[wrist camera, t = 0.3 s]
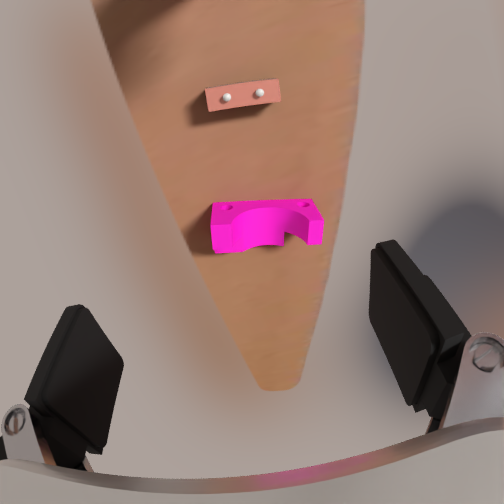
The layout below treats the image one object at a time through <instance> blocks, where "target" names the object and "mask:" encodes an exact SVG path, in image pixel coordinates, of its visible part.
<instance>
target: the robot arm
mask: <svg viewBox="0 0 504 504" xmlns="http://www.w3.org/2000/svg"><path fill="white" fill-rule="evenodd" d="M370 272H371V273H370V299H369V300H370V301H369V318H370V322H371V324H372V326H373V328H374V331H375V333H376V335H377V337H378V339H379V341H380V344H381V346H382V348H383V350H384V353H385V355H386V357H387V359H388V362H389V364H390V366H391V369H392V371H393V373H394V375H395V378H396V380H397V382H398V385H399V387H400V390H401V392H402V394H403V397H404V399H405V402H406V403H407V405H408V406H410V405H413V408H414V410H415V412H418V411H421V410H424V409H426V410H427V412H428V414H429V416H430V417H431V420H430V422H429V425H428V428H427V430H426V433H425V435H422V436H419V437H416V438H413V439H410V440H407V441H404V442H401V443H398V444H395V445H392V446H389V447H386V448H383V449H379V450H376V451H372V452H369V453H365V454H362V455H358V456H354V457H350V458H346V459H343V460H338V461H334V462H330V463H326V464H321V465H316V466H311V467H306V468H300V469H295V470H289V471H283V472H275V473H268V474H260V475H251V476H240V477H227V478H208V479H160V478H141V477H128V476H118V475H109V474H101V473H94V471H93V469H92V467H91V465H90V463H89V462H88V459H87V457H86V456H85V453H86V451H87V452H89V453H91V454H100V455H102V451H103V447H105V445H106V443H107V439H108V433H109V429H110V424H111V419H112V414H113V410H114V405H115V401H116V396H117V392H118V388H119V384H120V379H121V375H122V371H123V367H124V363H123V359H122V357H121V356H120V354H119V353H118V352H117V350H116V349H115V348H114V346H113V345H112V343H111V342H110V341H109V339H108V338H107V336H106V335H105V333H104V332H103V330H102V329H101V328H100V326H99V324H98V323H97V322H96V320H95V319H94V317H93V315H92V314H91V312H90V311H89V309H87V308H85V307H84V306H83V305H80V304H79V305H74V306H69V307H67V308H66V309H65V310H64V312H63V314H62V316H61V318H60V320H59V322H58V324H57V326H56V328H55V330H54V332H53V334H52V336H51V338H50V340H49V342H48V344H47V347H46V349H45V351H44V353H43V355H42V357H41V360H40V362H39V365H38V366H37V369H36V371H35V374H34V376H33V378H32V381H31V383H30V386H29V388H28V390H27V393H26V395H25V398H24V400H25V401H26V402H27V403H28V404H29V405H30V407H29V409H28V408H27V407H26V406H24V405H22V404H17V405H14V406H12V407H11V408H10V409H9V410H8V411H7V413H6V414H5V416H4V418H3V421H2V427H1V428H2V436H1V437H0V504H504V340H503V339H502V338H500V337H499V336H498V335H495V334H492V333H487V332H483V333H477V334H475V335H473V336H471V335H470V333H469V331H468V330H467V328H466V327H465V326H464V324H463V323H462V321H461V320H460V318H459V317H458V315H457V314H456V313H455V311H454V310H453V308H452V307H451V306H450V304H449V303H448V302H447V300H446V299H445V298H444V296H443V295H442V293H441V292H440V291H439V289H438V288H437V287H436V285H435V284H434V283H433V282H432V280H431V279H430V278H429V277H428V276H426V275H423V274H422V273H421V271H420V270H419V269H418V267H417V266H416V265H415V264H414V262H413V261H412V260H411V259H410V258H409V256H408V255H407V254H406V252H405V251H404V250H403V249H402V248H401V246H400V245H399V244H398V243H397V242H396V241H395V240H389V241H385V242H380V243H377V244H376V248H375V249H372V250H371V271H370Z"/></svg>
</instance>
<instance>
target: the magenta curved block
mask: <svg viewBox="0 0 504 504" xmlns="http://www.w3.org/2000/svg"><path fill="white" fill-rule="evenodd" d="M323 225H324V219H323V218H322V216H321V214H320V212H319V211H318V209H317V207H316V206H315V204H314V202H313V201H312V199H286V200H258V201H236V202H217V203H213V206H212V215H211V236H212V246H213V250H215V253H230V252H243V251H245V250H247V249H249V248H252V247H256V246H261V245H280V246H284V232H287V233H291V234H293V235H296V236H298V237H299V238H301V239H302V240H304V241H305V242H306V244H307V245H316V244H322V235H323Z"/></svg>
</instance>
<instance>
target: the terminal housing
mask: <svg viewBox="0 0 504 504" xmlns="http://www.w3.org/2000/svg"><path fill="white" fill-rule="evenodd" d="M205 93H206V99H207V105H208V110H209V112H211V111H217V110H223V109H229V108H235V107H242V106H249V105H256V104H264V103H273V102H281V96H280V88H279V81H278V79H276V78H272V79H263V80H254V81H247V82H239V83H233V84H226V85H220V86H214V87H209V88H206V89H205Z"/></svg>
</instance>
